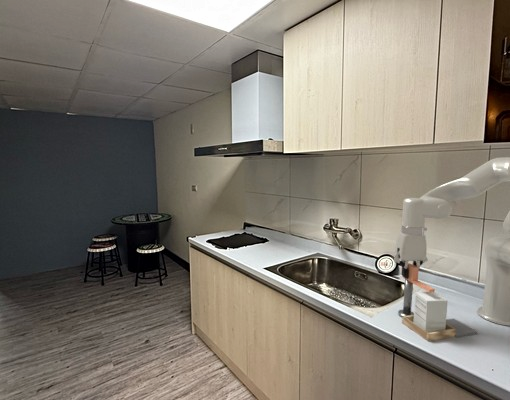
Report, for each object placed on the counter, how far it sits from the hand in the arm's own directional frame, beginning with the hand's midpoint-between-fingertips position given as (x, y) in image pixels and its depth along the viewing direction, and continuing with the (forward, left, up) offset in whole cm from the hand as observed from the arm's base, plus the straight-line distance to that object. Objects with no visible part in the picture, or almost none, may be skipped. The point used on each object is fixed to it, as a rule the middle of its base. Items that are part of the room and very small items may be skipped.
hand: (409, 276), depth 111 cm
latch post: (0, 0, -16) cm, 16 cm away
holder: (0, +10, -16) cm, 19 cm away
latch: (0, +4, -1) cm, 4 cm away
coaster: (-10, +12, -16) cm, 22 cm away
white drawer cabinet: (0, +10, -16) cm, 19 cm away
